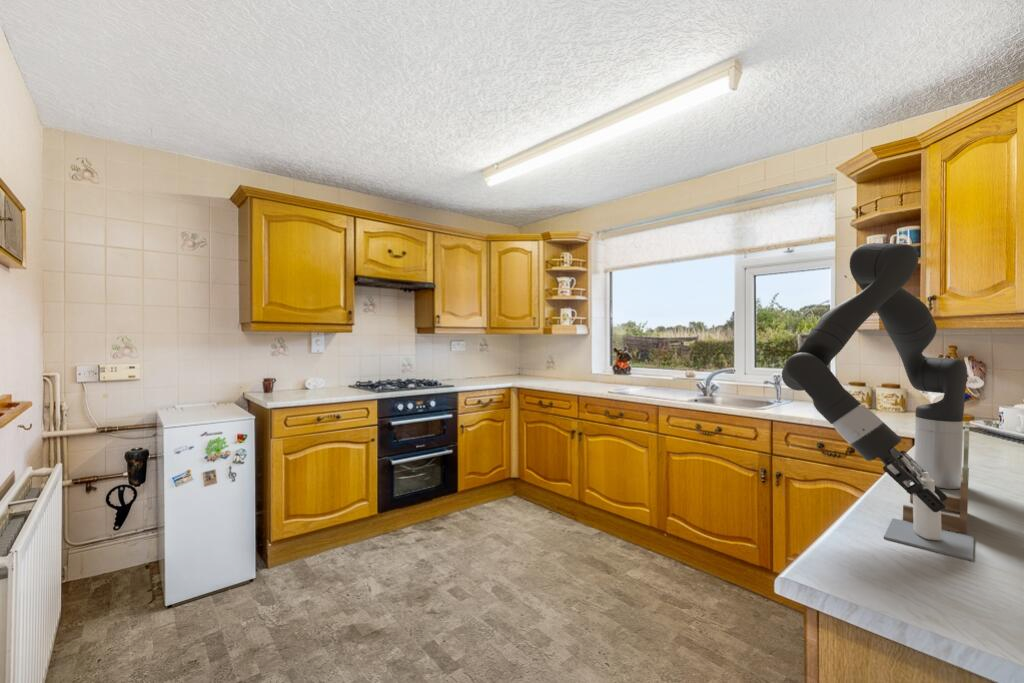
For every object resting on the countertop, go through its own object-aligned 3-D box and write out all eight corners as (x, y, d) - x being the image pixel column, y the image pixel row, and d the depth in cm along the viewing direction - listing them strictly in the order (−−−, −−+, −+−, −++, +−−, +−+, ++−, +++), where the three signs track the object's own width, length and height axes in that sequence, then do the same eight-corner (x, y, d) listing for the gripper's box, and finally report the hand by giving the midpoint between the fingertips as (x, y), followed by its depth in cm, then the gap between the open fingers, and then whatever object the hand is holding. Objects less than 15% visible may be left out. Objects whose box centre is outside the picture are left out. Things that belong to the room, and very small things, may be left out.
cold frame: (910, 501, 108) (912, 416, 108) (967, 513, 101) (970, 422, 101) (902, 520, 97) (905, 425, 96) (966, 534, 90) (969, 432, 90)
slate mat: (892, 519, 97) (892, 518, 97) (973, 538, 88) (973, 536, 88) (883, 538, 88) (883, 536, 88) (973, 561, 79) (973, 558, 79)
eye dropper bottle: (944, 534, 88) (943, 472, 89) (940, 543, 85) (939, 477, 85) (914, 528, 92) (913, 467, 92) (909, 536, 88) (908, 472, 88)
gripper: (876, 425, 88) (961, 504, 80) (886, 417, 98) (963, 486, 90) (841, 448, 92) (919, 525, 84) (855, 437, 102) (925, 505, 94)
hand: (941, 504), depth 87 cm, fingers open, 6 cm apart
